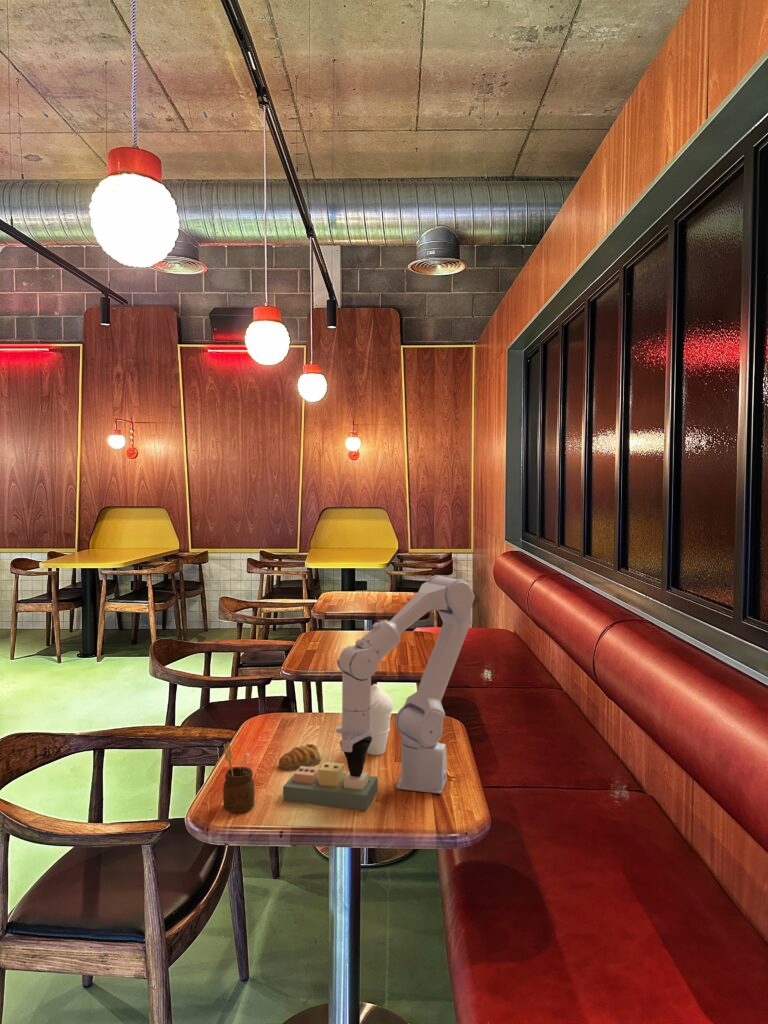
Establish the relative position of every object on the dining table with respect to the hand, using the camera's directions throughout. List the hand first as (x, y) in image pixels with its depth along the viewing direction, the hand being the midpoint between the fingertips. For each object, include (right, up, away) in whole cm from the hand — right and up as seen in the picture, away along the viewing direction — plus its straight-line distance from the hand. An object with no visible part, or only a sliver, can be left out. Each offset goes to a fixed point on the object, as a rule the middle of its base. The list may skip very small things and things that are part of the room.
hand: (356, 774), depth 137 cm
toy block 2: (-5, -3, +1) cm, 6 cm away
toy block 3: (0, -5, 0) cm, 5 cm away
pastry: (-13, -5, +18) cm, 23 cm away
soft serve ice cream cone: (+4, -4, +25) cm, 26 cm away
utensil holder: (-23, -5, -4) cm, 24 cm away
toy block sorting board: (-5, -5, +1) cm, 7 cm away
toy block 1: (-10, -5, +3) cm, 11 cm away
